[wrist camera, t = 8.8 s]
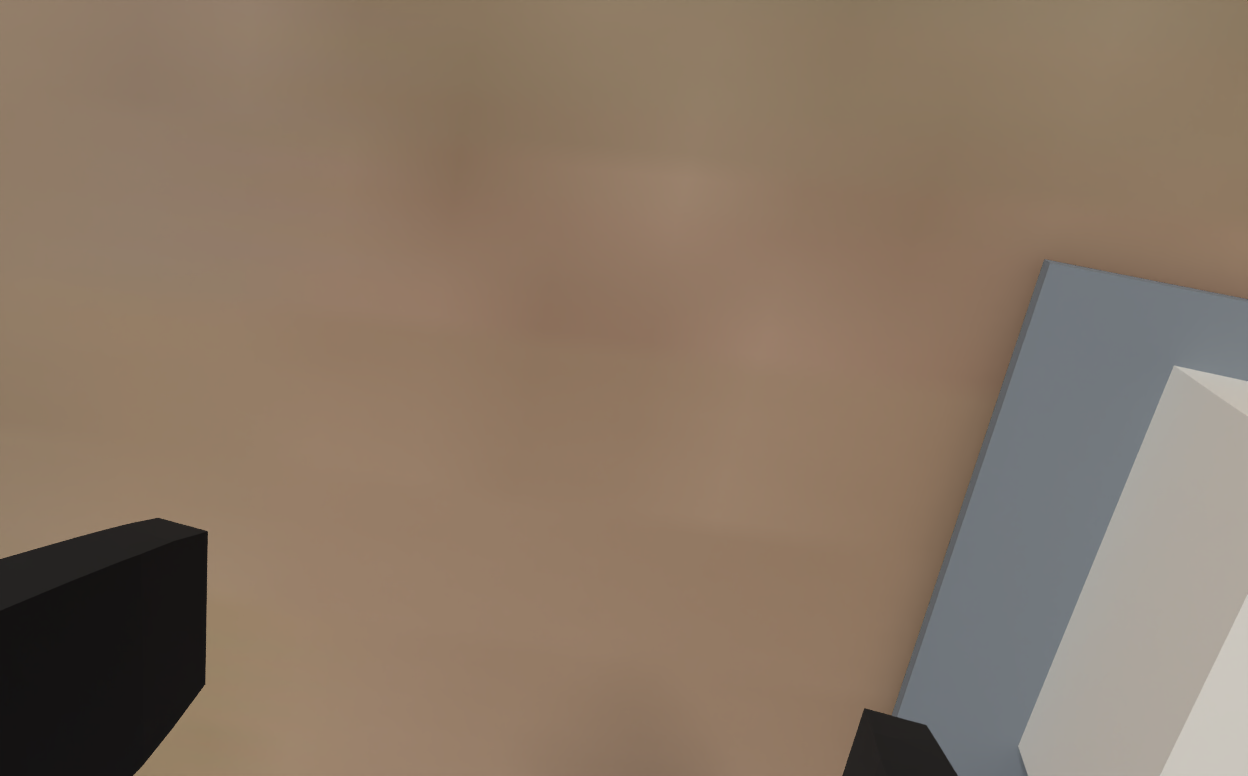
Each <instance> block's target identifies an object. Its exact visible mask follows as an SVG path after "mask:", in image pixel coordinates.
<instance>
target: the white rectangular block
mask: <svg viewBox="0 0 1248 776" xmlns="http://www.w3.org/2000/svg"><path fill="white" fill-rule="evenodd" d="M1018 747H1019V750H1020V753H1021V756H1022V759H1023V762H1024V765H1025V768H1026V771H1027V774H1028V776H1248V381H1244V380H1239V379H1235V378H1230V377H1225V376H1221V375H1216V374H1211V373H1207V372H1202V371H1197V370H1193V369H1188V368H1183V367H1179V366H1173V369H1172V371H1171V374H1170V376H1169V379H1168V381H1167V384H1166V386H1165V388H1164V391H1163V393H1162V396H1161V398H1160V401H1159V403H1158V406H1157V408H1156V410H1155V413H1154V415H1153V418H1152V420H1151V423H1150V425H1149V428H1148V430H1147V432H1146V435H1145V437H1144V440H1143V442H1142V445H1141V447H1140V450H1139V452H1138V454H1137V457H1136V459H1135V462H1134V464H1133V467H1132V469H1131V472H1130V474H1129V476H1128V479H1127V481H1126V484H1125V486H1124V489H1123V491H1122V494H1121V496H1120V498H1119V501H1118V503H1117V506H1116V508H1115V511H1114V513H1113V516H1112V518H1111V520H1110V523H1109V525H1108V528H1107V530H1106V533H1105V535H1104V538H1103V540H1102V542H1101V545H1100V547H1099V550H1098V552H1097V555H1096V557H1095V560H1094V562H1093V564H1092V567H1091V569H1090V572H1089V574H1088V577H1087V579H1086V581H1085V584H1084V586H1083V589H1082V591H1081V594H1080V596H1079V599H1078V601H1077V603H1076V606H1075V608H1074V611H1073V613H1072V616H1071V618H1070V621H1069V623H1068V625H1067V628H1066V630H1065V633H1064V635H1063V638H1062V640H1061V643H1060V645H1059V647H1058V650H1057V652H1056V655H1055V657H1054V660H1053V662H1052V665H1051V667H1050V669H1049V672H1048V674H1047V677H1046V679H1045V682H1044V684H1043V687H1042V689H1041V691H1040V694H1039V696H1038V699H1037V701H1036V704H1035V706H1034V709H1033V711H1032V713H1031V716H1030V718H1029V721H1028V723H1027V726H1026V728H1025V731H1024V733H1023V735H1022V738H1021V740H1020V743H1019V745H1018Z"/></svg>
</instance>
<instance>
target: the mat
mask: <svg viewBox="0 0 1248 776" xmlns="http://www.w3.org/2000/svg"><path fill="white" fill-rule="evenodd" d="M1173 366H1179V367H1183V368H1188V369H1193V370H1197V371H1202V372H1207V373H1211V374H1216V375H1221V376H1225V377H1230V378H1235V379H1239V380H1244V381H1248V299H1244V298H1239V297H1234V296H1228V295H1223V294H1218V293H1213V292H1208V291H1203V290H1198V289H1193V288H1188V287H1183V286H1178V285H1173V284H1167V283H1162V282H1157V281H1152V280H1147V279H1142V278H1137V277H1132V276H1127V275H1122V274H1117V273H1112V272H1106V271H1101V270H1096V269H1091V268H1086V267H1081V266H1076V265H1071V264H1066V263H1061V262H1056V261H1051V260H1045V259H1044V262H1043V265H1042V268H1041V271H1040V274H1039V277H1038V280H1037V283H1036V286H1035V289H1034V292H1033V295H1032V298H1031V301H1030V304H1029V307H1028V310H1027V313H1026V316H1025V319H1024V322H1023V325H1022V328H1021V331H1020V334H1019V337H1018V340H1017V343H1016V346H1015V349H1014V352H1013V355H1012V358H1011V361H1010V364H1009V367H1008V370H1007V373H1006V375H1005V378H1004V381H1003V384H1002V387H1001V390H1000V393H999V396H998V399H997V402H996V405H995V408H994V411H993V414H992V417H991V420H990V423H989V426H988V429H987V432H986V435H985V438H984V441H983V444H982V447H981V450H980V453H979V456H978V459H977V462H976V465H975V468H974V471H973V474H972V477H971V480H970V483H969V486H968V489H967V492H966V495H965V498H964V501H963V504H962V507H961V510H960V513H959V516H958V519H957V522H956V525H955V528H954V531H953V534H952V537H951V540H950V543H949V546H948V549H947V552H946V555H945V558H944V561H943V564H942V567H941V570H940V573H939V576H938V579H937V582H936V585H935V588H934V591H933V594H932V597H931V600H930V603H929V606H928V608H927V611H926V614H925V617H924V620H923V623H922V626H921V629H920V632H919V635H918V638H917V641H916V644H915V647H914V650H913V653H912V656H911V659H910V662H909V665H908V668H907V671H906V674H905V677H904V680H903V683H902V686H901V689H900V692H899V695H898V698H897V701H896V704H895V707H894V710H893V713H892V716H895V717H898V718H902V719H906V720H910V721H913V722H917V723H921V724H924V725H927V727H928V728H929V730H930V731H931V733H932V734H933V736H934V738H935V739H936V741H937V742H938V744H939V746H940V747H941V749H942V751H943V752H944V754H945V755H946V757H947V759H948V760H949V762H950V764H951V765H952V767H953V768H954V770H955V772H956V773H957V775H958V776H1028V774H1027V771H1026V768H1025V765H1024V762H1023V759H1022V756H1021V753H1020V750H1019V747H1018V745H1019V743H1020V740H1021V738H1022V735H1023V733H1024V731H1025V728H1026V726H1027V723H1028V721H1029V718H1030V716H1031V713H1032V711H1033V709H1034V706H1035V704H1036V701H1037V699H1038V696H1039V694H1040V691H1041V689H1042V687H1043V684H1044V682H1045V679H1046V677H1047V674H1048V672H1049V669H1050V667H1051V665H1052V662H1053V660H1054V657H1055V655H1056V652H1057V650H1058V647H1059V645H1060V643H1061V640H1062V638H1063V635H1064V633H1065V630H1066V628H1067V625H1068V623H1069V621H1070V618H1071V616H1072V613H1073V611H1074V608H1075V606H1076V603H1077V601H1078V599H1079V596H1080V594H1081V591H1082V589H1083V586H1084V584H1085V581H1086V579H1087V577H1088V574H1089V572H1090V569H1091V567H1092V564H1093V562H1094V560H1095V557H1096V555H1097V552H1098V550H1099V547H1100V545H1101V542H1102V540H1103V538H1104V535H1105V533H1106V530H1107V528H1108V525H1109V523H1110V520H1111V518H1112V516H1113V513H1114V511H1115V508H1116V506H1117V503H1118V501H1119V498H1120V496H1121V494H1122V491H1123V489H1124V486H1125V484H1126V481H1127V479H1128V476H1129V474H1130V472H1131V469H1132V467H1133V464H1134V462H1135V459H1136V457H1137V454H1138V452H1139V450H1140V447H1141V445H1142V442H1143V440H1144V437H1145V435H1146V432H1147V430H1148V428H1149V425H1150V423H1151V420H1152V418H1153V415H1154V413H1155V410H1156V408H1157V406H1158V403H1159V401H1160V398H1161V396H1162V393H1163V391H1164V388H1165V386H1166V384H1167V381H1168V379H1169V376H1170V374H1171V371H1172V369H1173Z"/></svg>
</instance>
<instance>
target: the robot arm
mask: <svg viewBox="0 0 1248 776" xmlns="http://www.w3.org/2000/svg"><path fill="white" fill-rule="evenodd" d="M207 544H208V531H205V530H201V529H197V528H194V527H190V526H186V525H183V524H179V523H175V522H171V521H168V520H164V519H160V518H155V519H150V520H145V521H140V522H135V523H131V524H126V525H122V526H118V527H114V528H110V529H106V530H102V531H99V532H95V533H91V534H87V535H84V536H80V537H77V538H73V539H69V540H66V541H62V542H59V543H55V544H52V545H48V546H45V547H41V548H38V549H34V550H31V551H27V552H24V553H20V554H17V555H13V556H10V557H6V558H3V559H0V776H133V775H134V774H135V773H136V772H137V771H138V770H139V769H140V768H141V767H142V766H143V765H144V763H145V762H146V761H147V760H148V758H149V757H150V756H151V755H152V753H153V752H154V751H155V750H156V748H157V747H158V746H159V745H160V743H161V742H162V741H163V740H164V738H165V737H166V736H167V734H168V733H169V732H170V731H171V729H172V728H173V727H174V726H175V724H176V723H177V722H178V720H179V719H180V717H181V716H182V715H183V713H184V712H185V711H186V709H187V708H188V707H189V705H190V704H191V703H192V701H193V700H194V699H195V697H196V696H197V695H198V693H199V692H200V691H201V689H202V688H203V686H204V685H205V667H206V605H207ZM843 776H958V775H957V773H956V772H955V770H954V768H953V767H952V765H951V764H950V762H949V760H948V759H947V757H946V755H945V754H944V752H943V751H942V749H941V747H940V746H939V744H938V742H937V741H936V739H935V738H934V736H933V734H932V733H931V731H930V730H929V728H928V727H927V725H924V724H921V723H917V722H913V721H910V720H906V719H902V718H898V717H895V716H891V715H887V714H884V713H880V712H876V711H872V710H869V709H865V708H864V711H863V714H862V717H861V720H860V724H859V727H858V730H857V733H856V736H855V739H854V742H853V745H852V748H851V751H850V754H849V757H848V760H847V763H846V767H845V770H844V773H843Z"/></svg>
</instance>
